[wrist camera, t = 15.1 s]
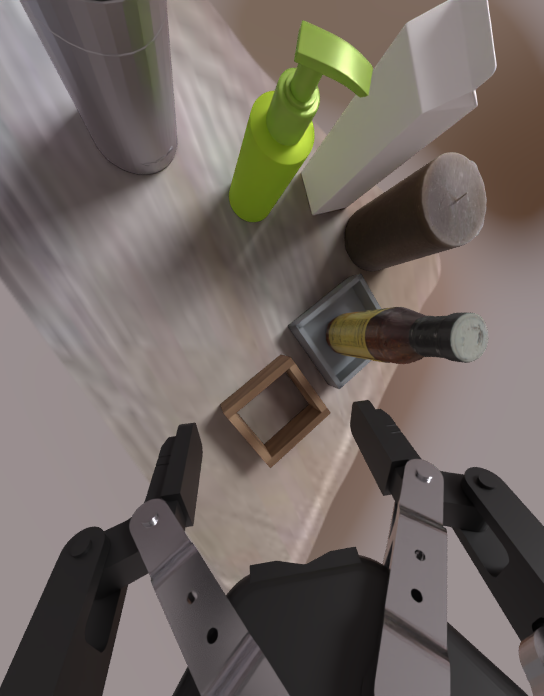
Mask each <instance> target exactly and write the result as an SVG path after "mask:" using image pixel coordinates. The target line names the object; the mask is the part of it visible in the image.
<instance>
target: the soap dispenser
mask: <svg viewBox="0 0 544 696" xmlns="http://www.w3.org/2000/svg"><path fill="white" fill-rule="evenodd" d="M294 61H295V62H297V63H298V66H297V68H290V69H287V70H286V71H284V72H283V73H282V75H281V76H280V78H279V80H278V83H277V86H276V89H275V91H269V92H266V93H264V94H262V95H261V96H260V97H259V98H258V99H257V100H256V101H255V103H254V104H253V107H252V109H251V113H250V117H249V120H248V124H247V128H246V131H245V135H244V139H243V142H242V146H241V150H240V153H239V157H238V161H237V165H236V168H235V172H234V176H233V179H232V183H231V187H230V190H229V201H230V205H231V207H232V209H233V211H234V212H235V213H236V214H237V215H238V216H239V217H240V218H241V219H243V220H245V221H248V222H258V221H261V220H263V219H265V218H266V217H267V216H268V214H269V213H270V211H271V210H272V208H273V207H274V205H275V204H276V202H277V201H278V199H279V198H280V196H281V195H282V194H283V192H284V191H285V189H286V188H287V186H288V185H289V183H290V182H291V180H292V179H293V177H294V176H295V174H296V173H297V171H298V170H299V168H300V167H301V165H302V164H303V162H304V161H305V159H306V158H307V156H308V155H309V153H310V152H311V150H312V147H313V143H314V127H313V123H312V119H313V117H314V116H315V114H316V112H317V110H318V107H319V104H320V95H319V89H318V86H317V85H318V83H319V81H320V79H321V77H322V75H325V76H327V77H329V78H332V79H334V80H336V81H338V82H339V83H341V84H343V85H344V86H346V87H348V88H349V89H350V90H352V91H353V92H354V93H355V94H356V95H357V96H358V97H360V98H361V97H366V96H368V95H369V90H370V84H371V78H372V72H373V67H372V66H371V64H370V63H369V62H368V61H367V59H366V58H365V57H364V56H363V55H362V54H361V53H360V52H359V51H358V50H356V49H355V48H354V47H353V46H352V45H350V44H349V43H347V42H346V41H344V40H343V39H341V38H339V37H337V36H336V35H334V34H332V33H330V32H328V31H325V30H323V29H321V28H319V27H317V26H315V25H312V24H310V23H308V22H305V21H302V24H301V26H300V29H299V34H298V40H297V46H296V52H295V58H294Z"/></svg>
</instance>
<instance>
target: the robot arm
mask: <svg viewBox="0 0 544 696" xmlns="http://www.w3.org/2000/svg"><path fill="white" fill-rule="evenodd" d="M20 2H21V4H22V6H23V8H24V10H25V12H26V13H27V15H28V17H29V19H30V21H31V23H32V25H33V27H34V29H35V30H36V32H37V34H38V36H39V38H40V40H41V42H42V44H43V46H44V47H45V49H46V51H47V53H48V55H49V57H50V59H51V61H52V63H53V64H54V66H55V68H56V70H57V72H58V74H59V76H60V78H61V80H62V81H63V83H64V85H65V87H66V89H67V91H68V93H69V95H70V97H71V98H72V100H73V102H74V104H75V106H76V108H77V110H78V112H79V114H80V116H81V118H82V119H83V121H84V123H85V125H86V127H87V129H88V131H89V133H90V134H91V136H92V138H93V140H94V142H95V144H96V146H97V147H98V149H99V150H100V151H101V153H102V154H103V155H104V156H105V157H106V158H107V159H108V160H109V161H110V162H112V163H113V164H114V165H116V166H117V167H119V168H121V169H123V170H126V171H128V172H132V173H136V174H151V173H156V172H158V171H160V170H162V169H164V168H165V167H166V166H168V165H169V163H170V162H171V161H172V160H173V158H174V155H175V153H176V149H177V130H176V114H175V102H174V89H173V77H172V64H171V52H170V39H169V27H168V14H167V2H166V0H20ZM350 427H351V432H352V435H353V437H354V439H355V441H356V443H357V445H358V447H359V449H360V451H361V453H362V455H363V457H364V459H365V461H366V463H367V465H368V467H369V469H370V471H371V473H372V475H373V476H374V478H375V480H376V483H377V484H378V487H379V489H380V490H381V492H382V494H383V496H385V495H391V494H392V496H393V498H394V500H395V502H394V507H393V512H392V519H391V524H390V530H389V536H388V541H387V546H386V550H385V555H384V560H383V564H381V563H379V562H377V561H375V560H373V559H371V558H368V557H365V556H361V555H358V552H357V549H356V547H351V548H345V549H340V550H335V551H330V552H328V553H326V554H324V555H323V556H321V557H319V558H317V559H315V560H313V561H311V562H310V563H308V564H296V563H289V562H282V561H272V562H267V563H261V564H255V565H250V574H249V575H248V576H246V577H244V578H243V579H242V580H240V581H239V582H238V583H237V584H236V585H235V586H234V587H233V588H232V589H231V590H230V591H229V593H227V595H225V593H224V592H223V590H222V589H221V587H220V585H219V584H218V582H217V581H216V579H215V577H214V576H213V574H212V573H211V571H210V569H209V568H208V566H207V565H206V563H205V561H204V560H203V558H202V557H201V555H200V553H199V552H198V550H197V549H196V547H195V546H194V544H193V543H191V541H190V540H189V538H188V537H187V535H186V534H185V527H189V526H193V524H194V516H195V509H196V501H197V493H198V486H199V478H200V471H201V463H202V453H203V451H202V443H201V439H200V436H199V432H198V429H197V425H196V423H188V424H181V425H179V426H178V430H177V434H176V436H174V437H168V439H167V440H166V441H165V443H164V444H163V445H162V447H161V450H160V453H159V459H158V460H157V463H156V467H155V470H154V473H153V476H152V480H151V483H150V486H149V490H148V494H147V496H146V499H145V502H144V504H142V505H141V506H140V507H139V508H138V509H137V510H136V511H135V512H134V514H133V515H132V517H131V518H130V519H128V520H127V521H125V522H123V523H121V524H118V525H116V526H114V527H112V528H110V529H108V530H106V531H103V530H102V529H101V528H99V527H89V528H86V529H84V530H82V531H80V532H79V533H77V534H76V535H75V536H74V537H72V538H71V539H70V540H69V541H68V542H67V544H66V545H65V547H64V548H63V550H62V551H61V553H60V556H59V558H58V560H57V562H56V565H55V567H54V569H53V571H52V573H51V576H50V578H49V580H48V582H47V585H46V587H45V589H44V591H43V593H42V596H41V598H40V600H39V602H38V605H37V607H36V609H35V611H34V613H33V616H32V618H31V620H30V622H29V625H28V627H27V629H26V631H25V633H24V636H23V638H22V640H21V642H20V645H19V647H18V649H17V651H16V654H15V656H14V658H13V660H12V663H11V665H10V667H9V669H8V671H7V674H6V676H5V678H4V680H3V682H2V685H1V687H0V696H102V694H103V690H104V685H105V681H106V677H107V673H108V668H109V664H110V660H111V656H112V651H113V647H114V643H115V639H116V634H117V630H118V626H119V622H120V617H121V613H122V609H123V605H124V600H125V595H126V592H127V587H128V584H130V583H132V582H134V581H135V580H137V579H139V578H140V577H142V576H144V575H146V574H148V573H149V575H150V577H151V583H152V585H153V588H154V590H155V592H156V595H157V597H158V599H159V602H160V604H161V606H162V608H163V611H164V613H165V615H166V618H167V620H168V622H169V624H170V626H171V629H172V631H173V633H174V636H175V638H176V640H177V643H178V645H179V647H180V649H181V652H182V654H183V656H184V658H185V661H186V663H187V665H188V667H187V669H186V671H185V673H184V675H183V676H182V678H181V680H180V682H179V684H178V686H177V688H176V690H175V692H174V693H173V695H172V696H528V695H527V694H526V693H525V692H524V691H523V690H522V689H521V688H520V687H518V685H516V684H515V683H514V682H513V681H512V680H511V679H510V678H509V677H508V676H506V675H505V674H504V673H503V672H502V671H501V670H500V669H499V668H498V667H497V666H495V665H494V664H493V663H492V662H491V661H490V660H489V659H488V658H487V657H485V656H484V655H483V654H482V653H481V652H480V651H479V650H478V649H477V648H476V647H475V646H473V645H472V644H471V643H470V642H469V641H468V640H467V639H466V638H465V637H464V636H462V635H461V634H460V633H459V632H458V631H457V630H456V629H455V628H453V626H451V625H450V624H449V623H448V622H447V530H446V528H444V527H443V526H449V527H452V528H453V530H454V532H455V533H456V535H457V537H458V538H459V540H460V542H461V543H462V545H463V546H464V548H465V550H466V551H467V553H468V555H469V556H470V558H471V560H472V561H473V563H474V565H475V566H476V567H477V569H478V571H479V573H480V574H481V576H482V578H483V579H484V581H485V582H486V584H487V586H488V588H489V589H490V591H491V592H492V594H493V596H494V597H495V599H496V601H497V602H498V604H499V606H500V607H501V609H502V611H503V612H504V614H505V615H506V617H507V619H508V620H509V622H510V624H511V625H512V627H513V629H514V630H515V632H516V634H517V635H518V637H519V638H520V640H521V643H520V645H519V658H520V662H521V665H522V667H523V670H524V672H525V674H526V677H527V679H528V681H529V683H530V685H531V688H532V692H533V696H544V526H543V525H542V524H541V523H540V522H539V521H538V519H537V518H536V517H535V516H534V515H533V514H532V513H531V512H530V510H529V509H528V508H527V507H526V506H525V505H524V504H523V503H522V501H521V500H520V499H519V498H518V497H517V496H516V495H515V494H514V493H513V491H512V490H511V489H510V488H509V487H508V486H507V485H506V484H505V483H504V481H502V479H501V478H499V477H498V476H497V475H495V474H494V473H492V472H490V471H488V470H486V469H483V468H478V467H472V468H469V469H467V470H466V472H465V474H464V475H463V474H455V473H448V472H443V471H439V470H438V468H437V467H435V466H434V465H433V464H431V463H429V462H427V461H425V460H422V459H421V458H420V457H419V455H418V454H417V452H416V451H415V450H414V448H413V447H412V446H411V444H410V443H409V442H408V440H407V439H406V437H405V436H404V435H403V433H402V432H401V431H400V429H399V428H398V426H396V424H395V422H394V421H393V419H392V418H391V417H390V416H389V415H388V414H387V413H385V412H384V411H383V410H381V409H375V408H374V406H373V405H372V404H371V402H370V401H369V400H365V401H357V402H353V405H352V413H351V421H350Z"/></svg>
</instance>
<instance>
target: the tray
mask: <svg viewBox="0 0 544 696" xmlns="http://www.w3.org/2000/svg"><path fill="white" fill-rule="evenodd" d="M377 309H381V307H380V306H379V304H378V302H377V300H376V299H375V297H374V295H373V294H372V292H371V290H370V288H369V287H368V285H367V283H366V281H365V280H364V278H363V276H362V274H358V275H354V276H351V277H348V278H347V279H346V280H345V281H343V282H342V283H341V284H340V285H338V286H337V287H336V288H335V289H333V290H332V291H331V292H330V293H328V294H327V295H326V296H324V297H323V298H322V299H321V300H319V301H318V302H317V303H316V304H314V305H313V306H312V307H311V308H309V309H308V310H307V311H306V312H304V313H303V314H302V315H301V316H299V317H298V318H297V319H296V320H294V321H293V322H292V323H291V324H289V325H288V327H289V328H290V330H291V331H292V333H293V334H294V336H295V337H296V338H297V340H298V341H299V343H300V344H301V346H302V347H303V349H304V350H305V351H306V353H307V354H308V356H309V357H310V359H311V360H312V361H313V363H314V364H315V366H316V367H317V369H318V370H319V372H320V373H321V374H322V376H323V377H324V379H325V380H326V382H327V383H328V384H329V385H331V386H333V387H335V388H338V389H340V388H341V387H343V386H344V385H345V384H346V383H347V382H348V381H349V380H350V379H351V378H353V377H354V376H355V375H356V374H357V373H358V372H359V371H360V370H361V369H362V368H364V367H365V366H366V365H367V364H368V363H369V362H370V361H371V360H368V359H362V358H356V357H350V356H345V355H342V354H339V353H336V352H335V351H333V350H332V349H331V347H330V346H329V345H328V343H327V341H326V331H327V327H328V324H329V323H330V322H331V321H332V320H333V319H334V318H336V317H337V316H339V315H342V314H345V313H352V312H361V311H367V310H377Z"/></svg>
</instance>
